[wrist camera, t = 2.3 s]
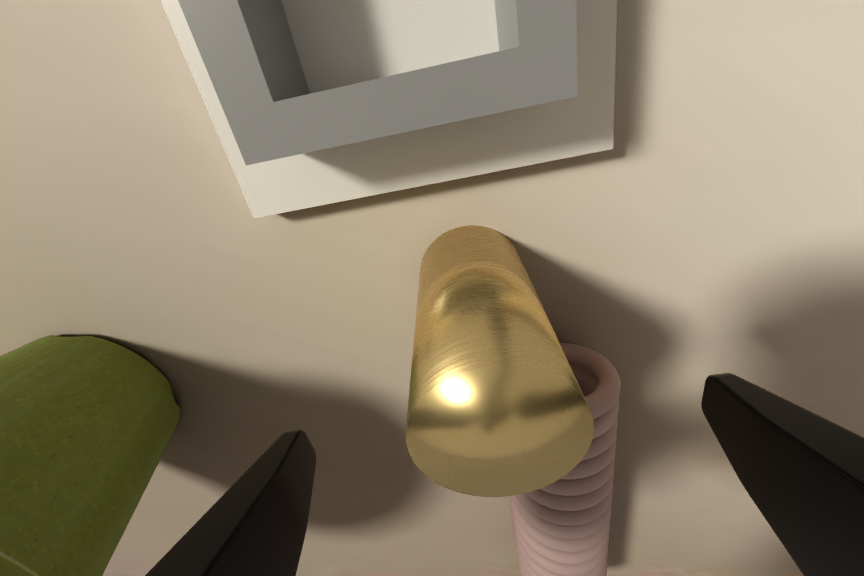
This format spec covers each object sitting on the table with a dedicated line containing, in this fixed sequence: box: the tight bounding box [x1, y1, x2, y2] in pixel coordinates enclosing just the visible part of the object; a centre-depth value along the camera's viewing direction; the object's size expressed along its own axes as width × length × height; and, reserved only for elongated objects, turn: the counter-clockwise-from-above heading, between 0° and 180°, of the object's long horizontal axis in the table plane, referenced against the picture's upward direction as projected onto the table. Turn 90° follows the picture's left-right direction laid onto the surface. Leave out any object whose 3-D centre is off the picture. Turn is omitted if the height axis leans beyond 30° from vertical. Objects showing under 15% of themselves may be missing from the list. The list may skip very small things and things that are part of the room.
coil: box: [510, 343, 621, 576], centre depth 19 cm, size 5×5×18 cm
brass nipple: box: [406, 226, 594, 497], centre depth 12 cm, size 4×4×8 cm
